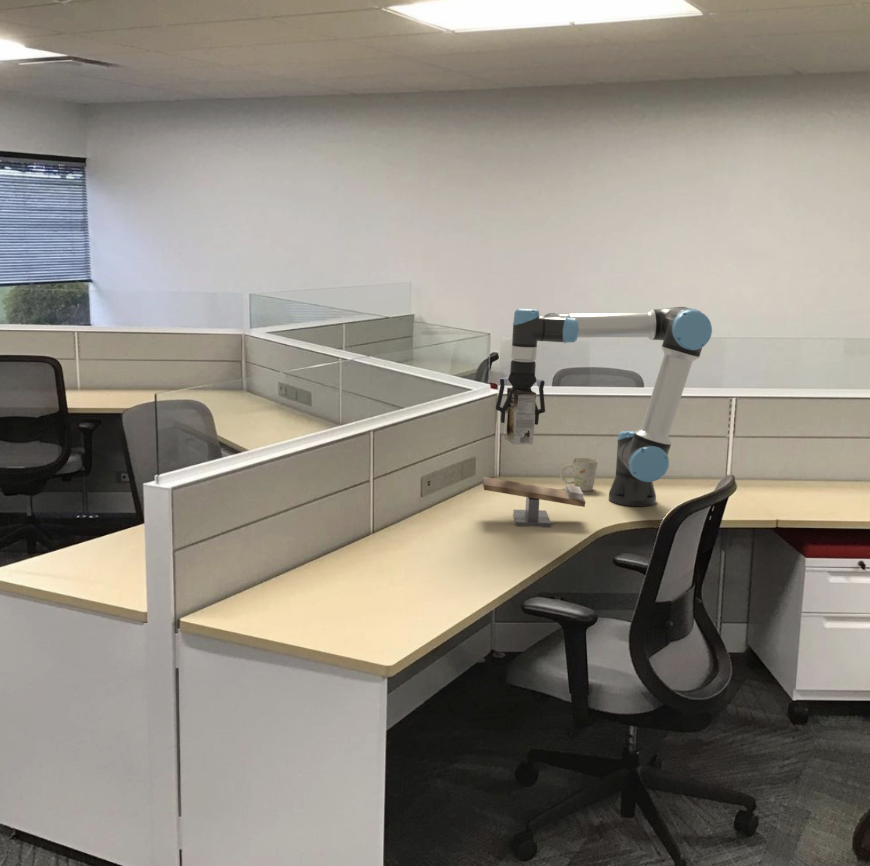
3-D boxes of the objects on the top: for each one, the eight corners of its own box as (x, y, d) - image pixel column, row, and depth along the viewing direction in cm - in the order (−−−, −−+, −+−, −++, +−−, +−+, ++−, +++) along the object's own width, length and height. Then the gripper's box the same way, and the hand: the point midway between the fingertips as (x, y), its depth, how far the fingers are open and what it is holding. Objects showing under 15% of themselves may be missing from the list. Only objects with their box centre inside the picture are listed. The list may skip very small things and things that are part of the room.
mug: (597, 492, 337) (599, 463, 335) (560, 491, 337) (561, 462, 335) (594, 486, 345) (596, 458, 343) (557, 485, 345) (559, 456, 343)
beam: (580, 498, 304) (582, 486, 304) (584, 506, 294) (586, 495, 294) (482, 481, 304) (484, 470, 303) (483, 489, 294) (486, 478, 293)
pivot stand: (545, 514, 307) (547, 490, 306) (550, 527, 294) (551, 502, 292) (513, 513, 307) (514, 489, 306) (516, 526, 294) (517, 500, 292)
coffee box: (503, 438, 312) (506, 387, 309) (522, 438, 314) (526, 387, 311) (513, 444, 303) (516, 392, 300) (533, 444, 305) (536, 392, 302)
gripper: (556, 360, 307) (551, 433, 311) (489, 357, 308) (485, 430, 312) (558, 363, 300) (553, 438, 304) (489, 359, 300) (485, 434, 305)
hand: (518, 434), depth 308 cm, fingers closed on coffee box, 8 cm apart
